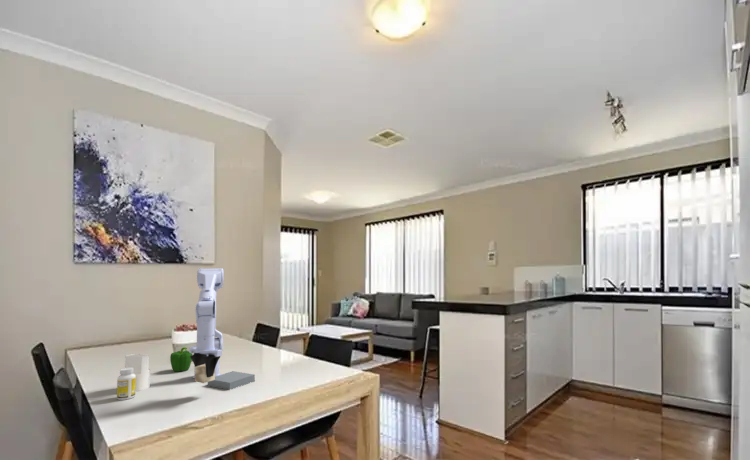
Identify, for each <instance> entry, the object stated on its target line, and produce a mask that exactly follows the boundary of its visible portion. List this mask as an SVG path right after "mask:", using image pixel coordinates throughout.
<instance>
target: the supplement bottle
mask: <svg viewBox="0 0 750 460" xmlns="http://www.w3.org/2000/svg"><path fill="white" fill-rule="evenodd" d="M133 371H134V368H133V367H129V368H125V367H123V368H120V370H119V374H120V375H119V376H118V377H117V381H116V382H117V383H116V385H117V387H116V389H117V390H116V399H117V400H119V401H125V400H130V399H133V398H135V397H136V392H135V384H136V376H135V374H133Z"/></svg>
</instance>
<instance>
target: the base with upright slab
mask: <svg viewBox="0 0 750 460" xmlns="http://www.w3.org/2000/svg"><path fill="white" fill-rule="evenodd" d="M149 358H150V355H149V354H140V353H138V354H137V353H130V354H125V355H124V368H129V367H133V368H134V371H133V374H135V376H136V384H135V393H137V392H140V391H144V390H147V389H149V388H150V387H151V369H149V363H150V359H149Z"/></svg>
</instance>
